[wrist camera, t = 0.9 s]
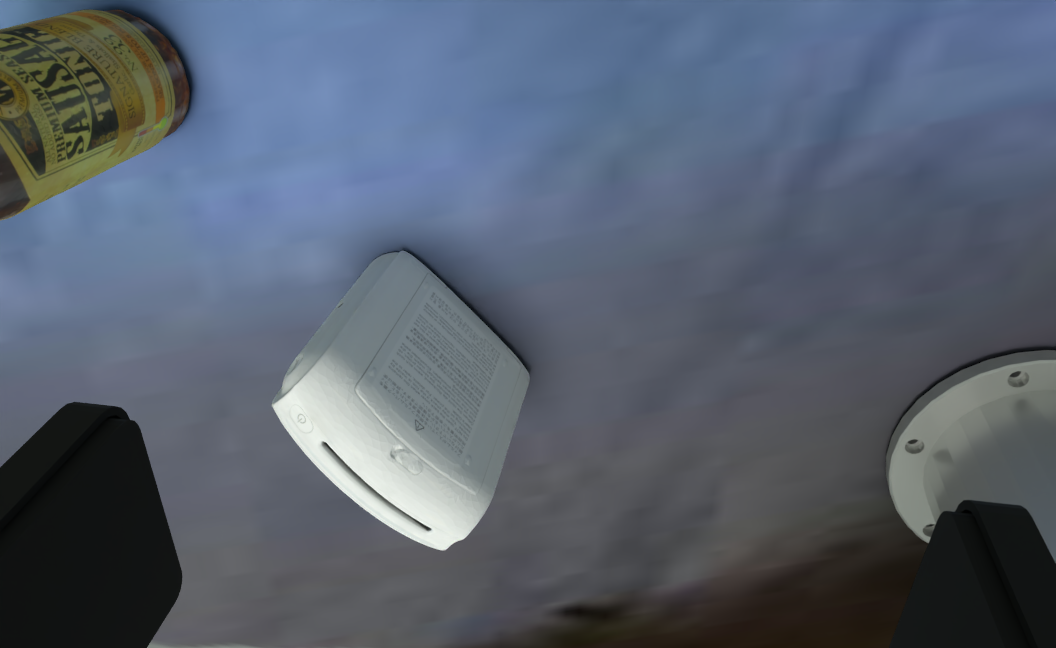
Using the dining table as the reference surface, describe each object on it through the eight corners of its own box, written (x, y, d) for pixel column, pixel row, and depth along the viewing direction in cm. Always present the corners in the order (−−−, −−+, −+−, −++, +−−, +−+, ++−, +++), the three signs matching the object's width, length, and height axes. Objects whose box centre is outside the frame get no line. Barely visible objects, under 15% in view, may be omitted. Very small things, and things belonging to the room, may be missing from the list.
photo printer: (345, 281, 42) (230, 430, 32) (400, 231, 40) (296, 372, 30) (487, 414, 45) (425, 591, 34) (545, 373, 43) (497, 548, 32)
